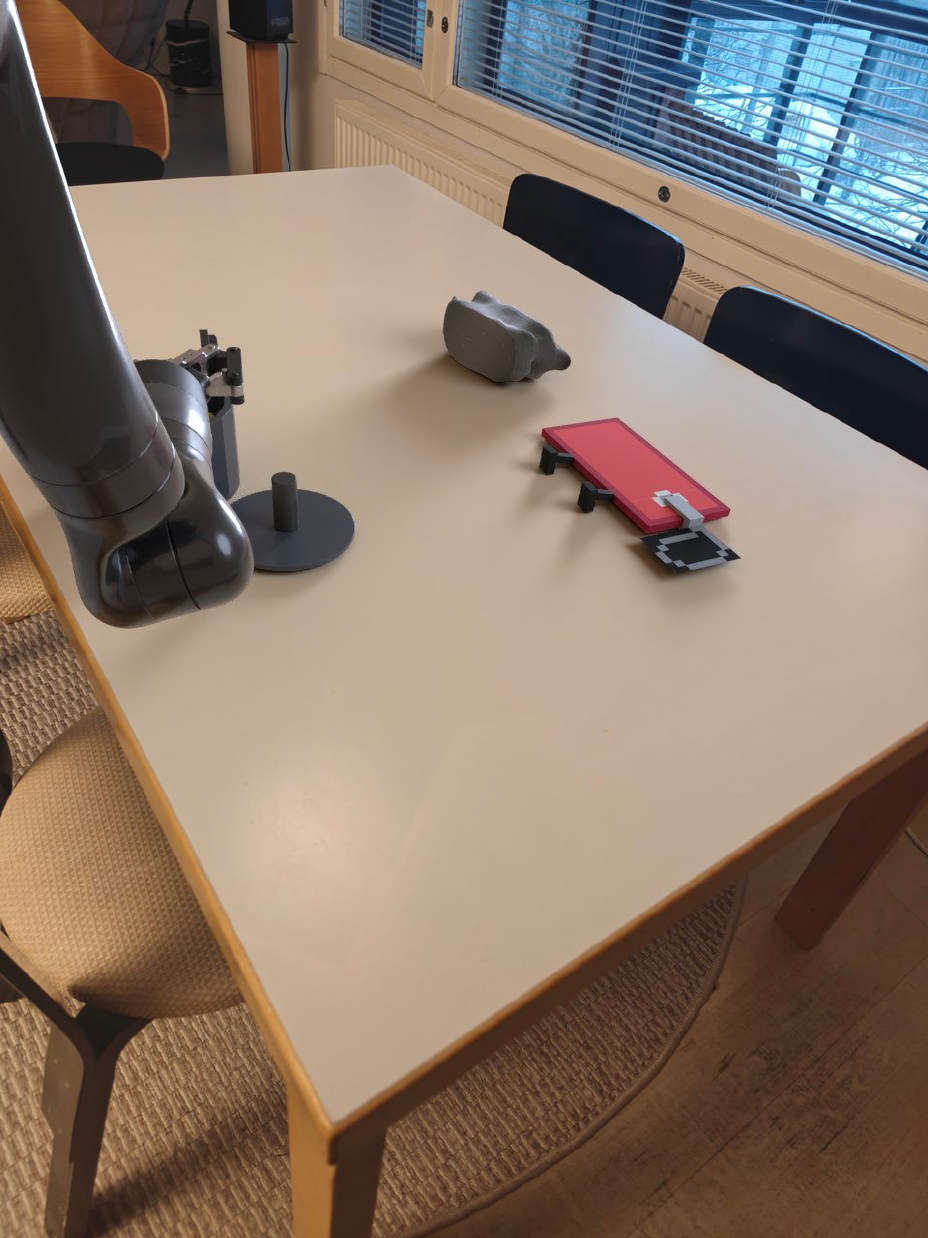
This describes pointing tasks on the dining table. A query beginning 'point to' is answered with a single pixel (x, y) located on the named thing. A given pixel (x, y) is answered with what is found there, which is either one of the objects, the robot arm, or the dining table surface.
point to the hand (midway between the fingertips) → (154, 340)
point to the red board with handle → (641, 490)
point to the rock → (500, 340)
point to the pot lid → (294, 526)
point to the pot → (224, 446)
